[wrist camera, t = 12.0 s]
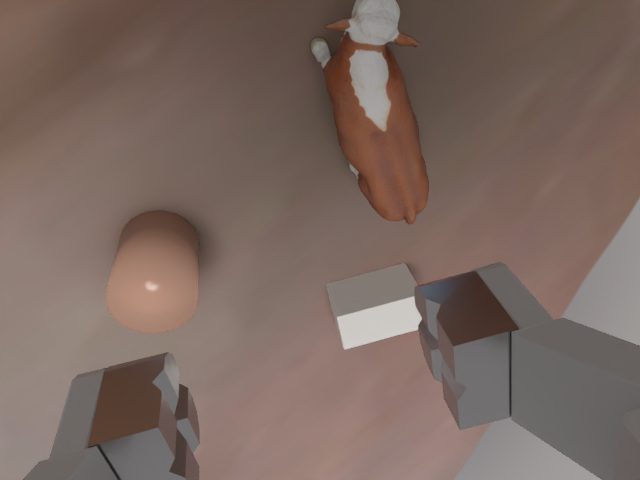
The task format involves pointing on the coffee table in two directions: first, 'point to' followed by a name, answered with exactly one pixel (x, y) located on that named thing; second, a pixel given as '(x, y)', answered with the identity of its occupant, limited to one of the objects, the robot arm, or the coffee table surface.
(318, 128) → the coffee table surface
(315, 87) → the coffee table surface
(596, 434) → the robot arm
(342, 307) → the off-white brick
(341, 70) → the bull figurine
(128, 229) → the peach rounded capsule
